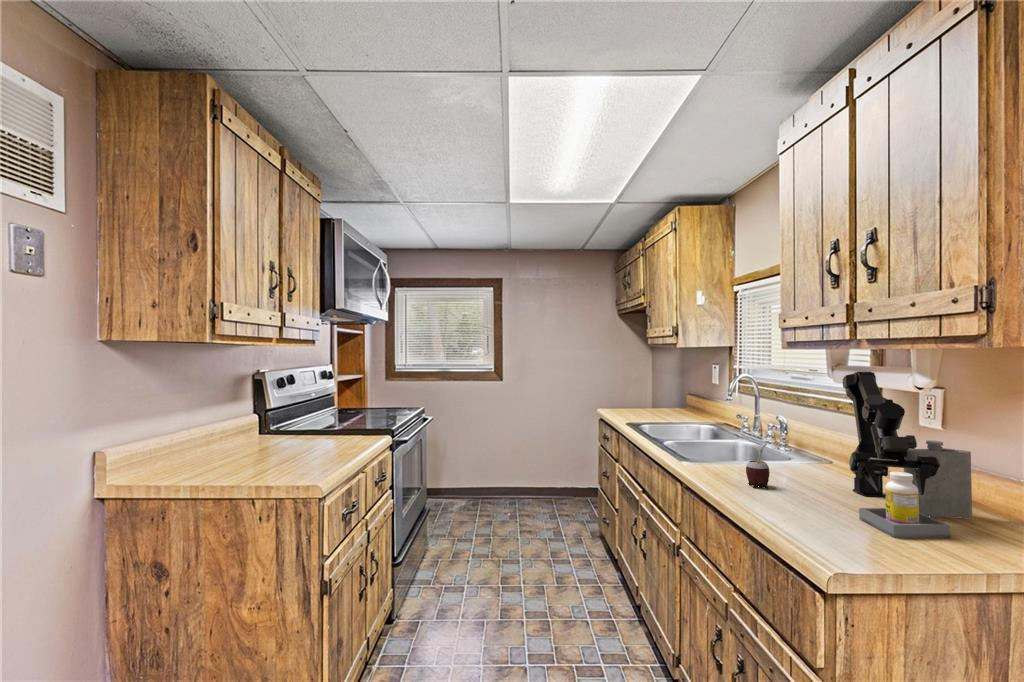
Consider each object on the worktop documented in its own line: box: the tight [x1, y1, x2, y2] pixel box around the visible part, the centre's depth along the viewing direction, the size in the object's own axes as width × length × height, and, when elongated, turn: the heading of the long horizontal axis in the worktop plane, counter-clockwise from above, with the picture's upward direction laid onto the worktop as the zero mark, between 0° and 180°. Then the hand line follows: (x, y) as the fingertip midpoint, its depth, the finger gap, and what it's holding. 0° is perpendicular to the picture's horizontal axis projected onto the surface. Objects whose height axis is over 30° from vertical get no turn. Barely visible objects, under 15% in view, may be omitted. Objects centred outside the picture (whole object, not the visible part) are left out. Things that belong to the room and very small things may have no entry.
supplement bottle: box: [884, 471, 919, 524], centre depth 129 cm, size 7×7×13 cm
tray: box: [858, 507, 951, 539], centre depth 128 cm, size 13×13×3 cm
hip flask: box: [903, 439, 973, 519], centre depth 138 cm, size 16×4×20 cm, turn 82°
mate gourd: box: [745, 443, 770, 489], centre depth 167 cm, size 8×8×15 cm
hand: (900, 492), depth 129 cm, fingers open, 9 cm apart
